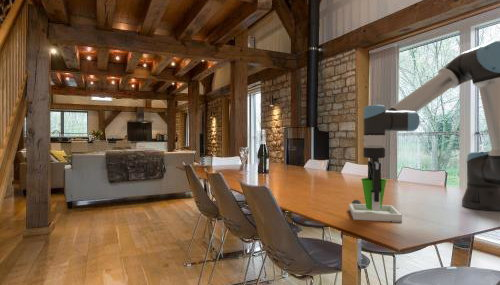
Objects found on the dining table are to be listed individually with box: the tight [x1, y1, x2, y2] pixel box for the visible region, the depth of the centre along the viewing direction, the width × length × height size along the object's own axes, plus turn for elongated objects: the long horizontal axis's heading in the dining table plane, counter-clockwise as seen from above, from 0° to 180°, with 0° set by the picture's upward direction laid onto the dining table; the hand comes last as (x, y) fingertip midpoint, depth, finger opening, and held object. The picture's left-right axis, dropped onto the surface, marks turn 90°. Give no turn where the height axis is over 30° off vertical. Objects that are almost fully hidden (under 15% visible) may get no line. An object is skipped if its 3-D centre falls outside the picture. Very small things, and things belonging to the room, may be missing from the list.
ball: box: [351, 199, 362, 204], centre depth 133 cm, size 4×4×4 cm
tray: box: [348, 203, 403, 223], centre depth 121 cm, size 16×16×2 cm
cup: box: [360, 177, 388, 210], centre depth 121 cm, size 9×9×11 cm
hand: (373, 207), depth 121 cm, fingers closed on cup, 9 cm apart
